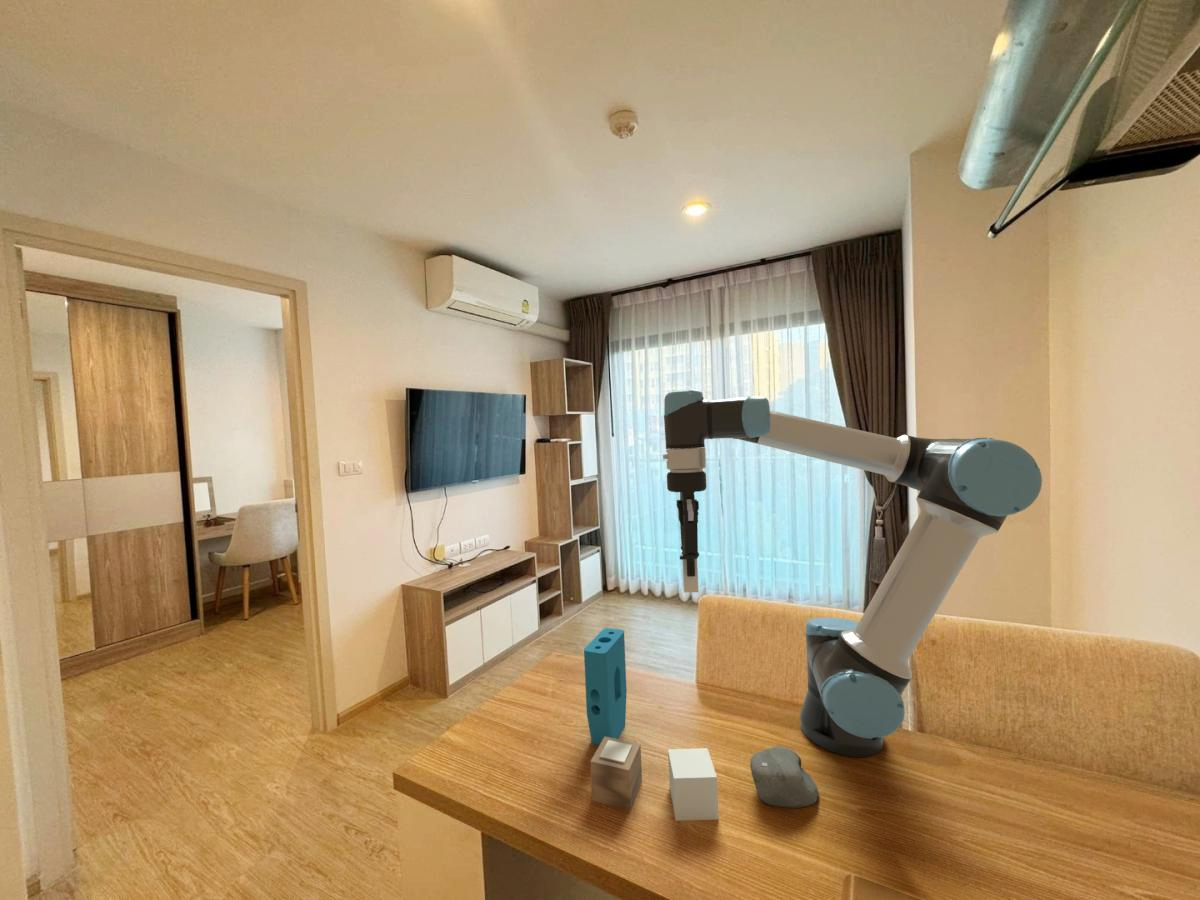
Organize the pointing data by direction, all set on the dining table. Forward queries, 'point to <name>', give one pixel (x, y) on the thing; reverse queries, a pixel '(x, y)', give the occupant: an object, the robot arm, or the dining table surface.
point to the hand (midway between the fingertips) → (691, 591)
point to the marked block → (616, 773)
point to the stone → (782, 778)
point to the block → (605, 684)
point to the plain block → (693, 784)
